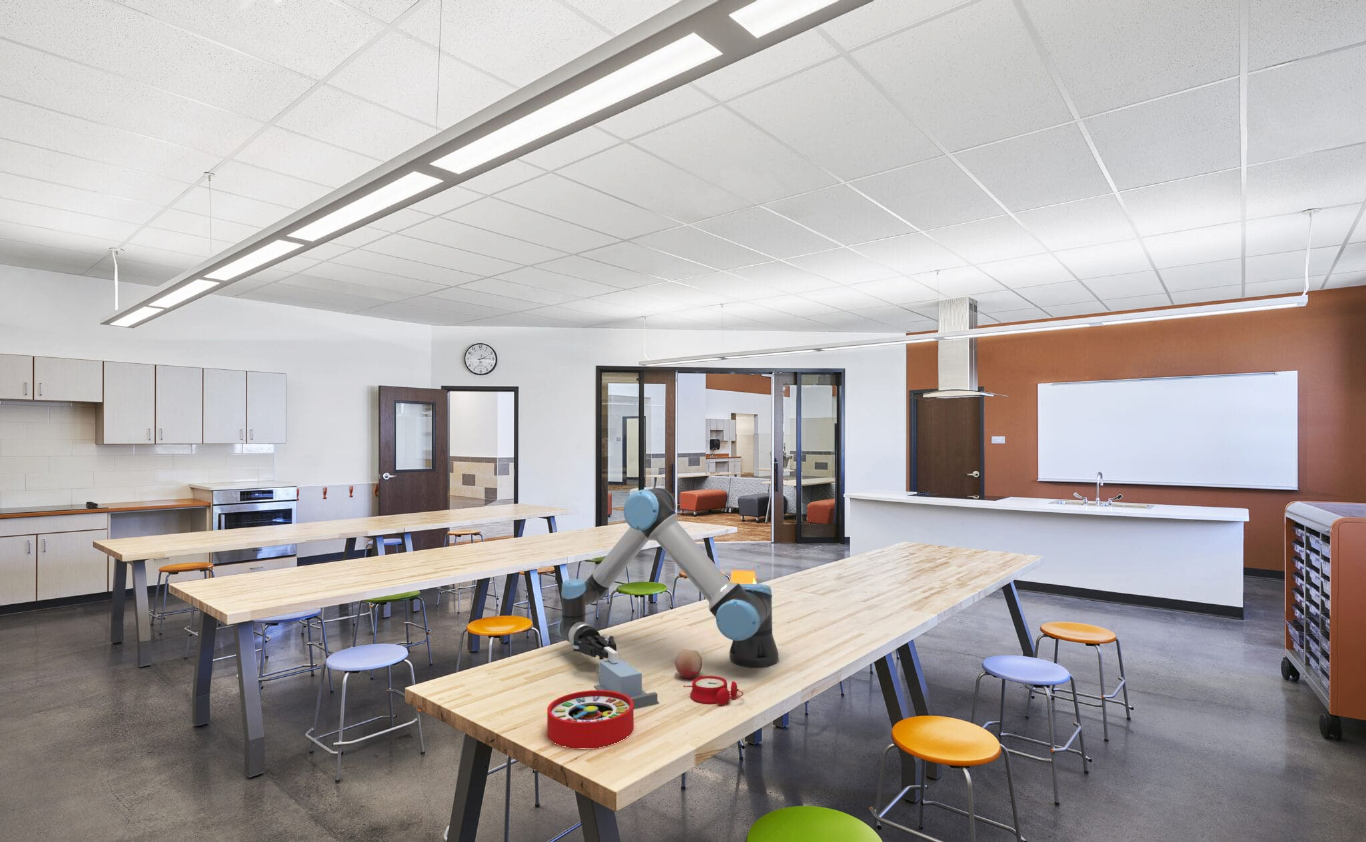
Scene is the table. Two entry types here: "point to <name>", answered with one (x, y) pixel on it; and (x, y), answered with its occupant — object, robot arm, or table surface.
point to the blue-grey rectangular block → (620, 678)
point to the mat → (639, 698)
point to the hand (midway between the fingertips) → (615, 658)
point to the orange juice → (743, 577)
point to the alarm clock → (712, 690)
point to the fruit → (688, 663)
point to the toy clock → (590, 719)
